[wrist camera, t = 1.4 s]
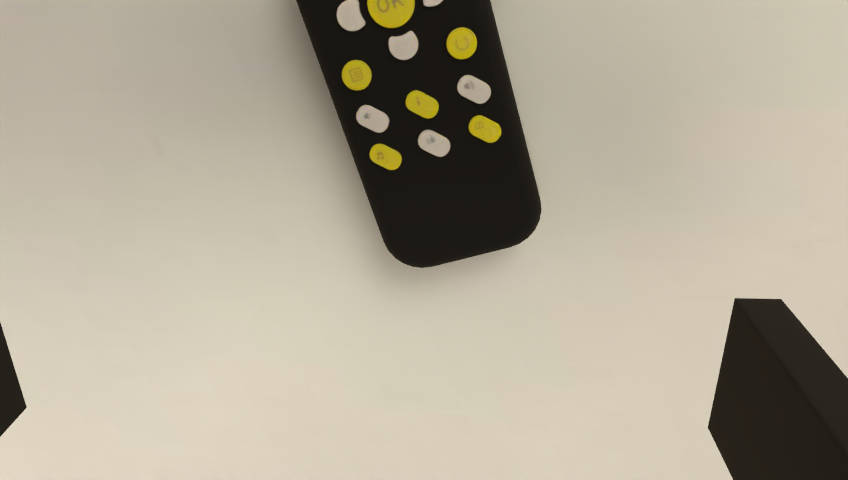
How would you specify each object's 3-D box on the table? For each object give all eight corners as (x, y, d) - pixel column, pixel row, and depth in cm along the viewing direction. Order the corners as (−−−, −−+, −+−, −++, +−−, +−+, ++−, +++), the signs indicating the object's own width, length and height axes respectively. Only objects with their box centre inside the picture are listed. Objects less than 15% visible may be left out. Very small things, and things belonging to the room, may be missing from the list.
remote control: (398, 260, 28) (394, 283, 27) (283, -62, 23) (268, -60, 22) (545, 222, 27) (551, 244, 26) (458, -122, 22) (458, -126, 21)
